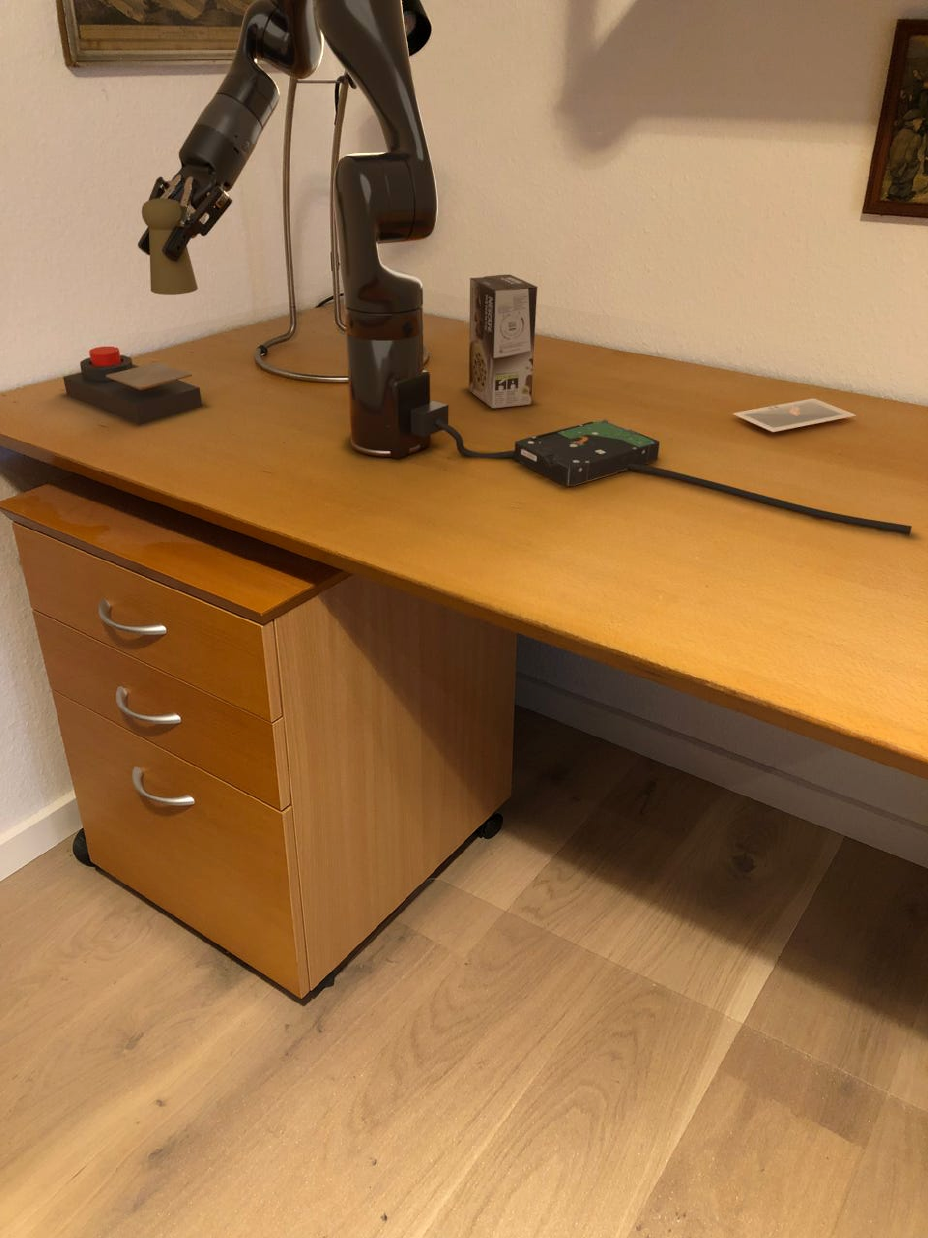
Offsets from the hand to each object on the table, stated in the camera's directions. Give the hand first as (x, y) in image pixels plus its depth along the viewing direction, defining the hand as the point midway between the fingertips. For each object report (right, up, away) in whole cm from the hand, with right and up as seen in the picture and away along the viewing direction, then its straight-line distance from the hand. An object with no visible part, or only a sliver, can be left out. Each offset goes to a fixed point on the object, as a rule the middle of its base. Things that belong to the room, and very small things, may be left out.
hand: (156, 253), depth 121 cm
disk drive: (+54, -28, -5) cm, 61 cm away
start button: (-11, -11, +12) cm, 20 cm away
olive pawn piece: (+1, -3, +4) cm, 5 cm away
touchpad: (+84, -20, +8) cm, 87 cm away
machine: (-7, -16, +11) cm, 21 cm away
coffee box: (+45, -15, +15) cm, 49 cm away
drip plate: (-3, -14, +6) cm, 16 cm away
